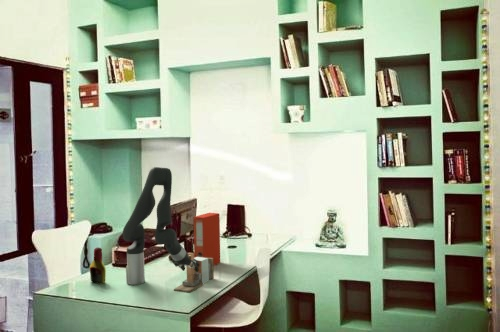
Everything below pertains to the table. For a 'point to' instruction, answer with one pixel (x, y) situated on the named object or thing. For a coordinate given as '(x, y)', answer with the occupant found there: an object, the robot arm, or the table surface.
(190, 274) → the wooden post on base
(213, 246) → the file binder
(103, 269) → the bottle
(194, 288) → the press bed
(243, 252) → the table surface
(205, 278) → the small box
